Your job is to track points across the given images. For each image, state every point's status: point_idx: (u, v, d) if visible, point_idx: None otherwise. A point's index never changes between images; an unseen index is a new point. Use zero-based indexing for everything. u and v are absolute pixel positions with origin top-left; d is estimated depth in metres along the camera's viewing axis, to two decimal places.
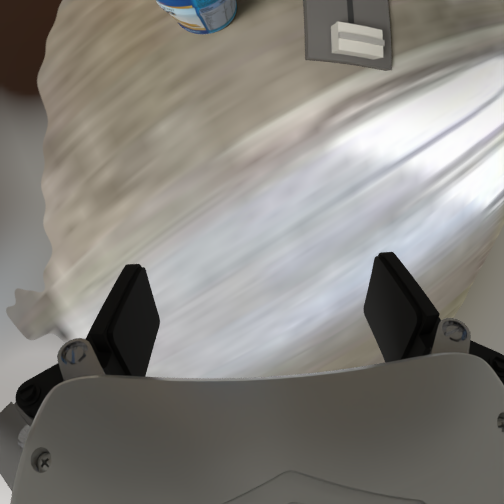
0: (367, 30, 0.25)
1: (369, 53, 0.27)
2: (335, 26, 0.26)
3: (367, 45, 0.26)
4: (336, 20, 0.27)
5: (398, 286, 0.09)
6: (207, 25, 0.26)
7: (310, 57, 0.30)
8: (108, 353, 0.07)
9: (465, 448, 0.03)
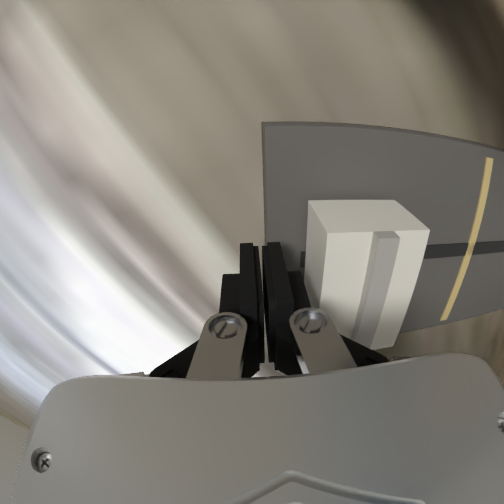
0: (395, 314, 0.11)
1: None
2: (407, 220, 0.10)
3: (349, 319, 0.11)
4: None
5: (266, 273, 0.10)
6: None
7: (267, 132, 0.11)
8: (254, 325, 0.09)
9: (465, 448, 0.03)
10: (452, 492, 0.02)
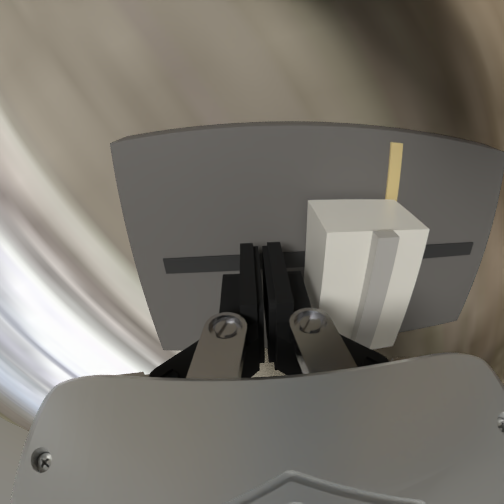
0: (394, 314, 0.11)
1: None
2: (407, 219, 0.10)
3: (349, 318, 0.11)
4: (264, 219, 0.12)
5: (266, 273, 0.10)
6: None
7: (114, 148, 0.11)
8: (254, 325, 0.09)
9: (465, 448, 0.03)
10: (452, 492, 0.02)
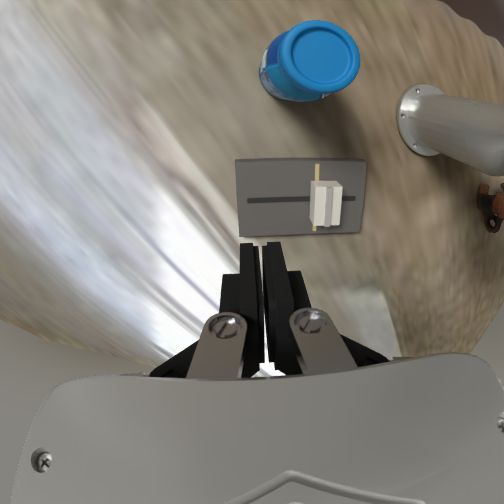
0: (336, 212, 0.41)
1: (315, 213, 0.41)
2: (337, 184, 0.40)
3: (323, 211, 0.41)
4: (278, 186, 0.42)
5: (266, 273, 0.10)
6: (262, 76, 0.32)
7: (235, 164, 0.41)
8: (254, 325, 0.09)
9: (465, 448, 0.03)
10: (452, 492, 0.02)
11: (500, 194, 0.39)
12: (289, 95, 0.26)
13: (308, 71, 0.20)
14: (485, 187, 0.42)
